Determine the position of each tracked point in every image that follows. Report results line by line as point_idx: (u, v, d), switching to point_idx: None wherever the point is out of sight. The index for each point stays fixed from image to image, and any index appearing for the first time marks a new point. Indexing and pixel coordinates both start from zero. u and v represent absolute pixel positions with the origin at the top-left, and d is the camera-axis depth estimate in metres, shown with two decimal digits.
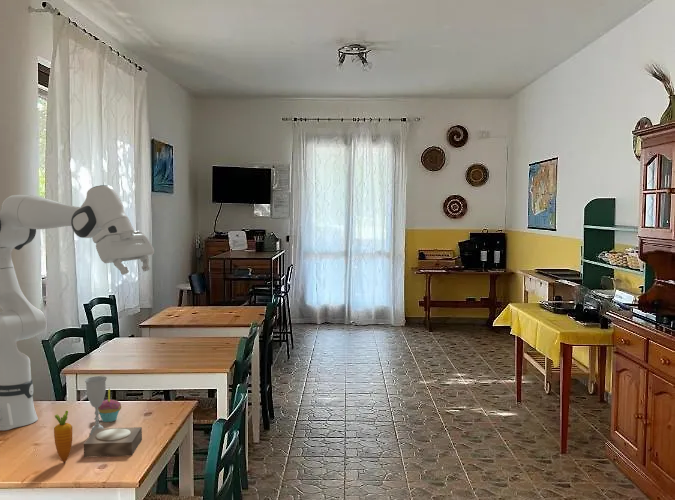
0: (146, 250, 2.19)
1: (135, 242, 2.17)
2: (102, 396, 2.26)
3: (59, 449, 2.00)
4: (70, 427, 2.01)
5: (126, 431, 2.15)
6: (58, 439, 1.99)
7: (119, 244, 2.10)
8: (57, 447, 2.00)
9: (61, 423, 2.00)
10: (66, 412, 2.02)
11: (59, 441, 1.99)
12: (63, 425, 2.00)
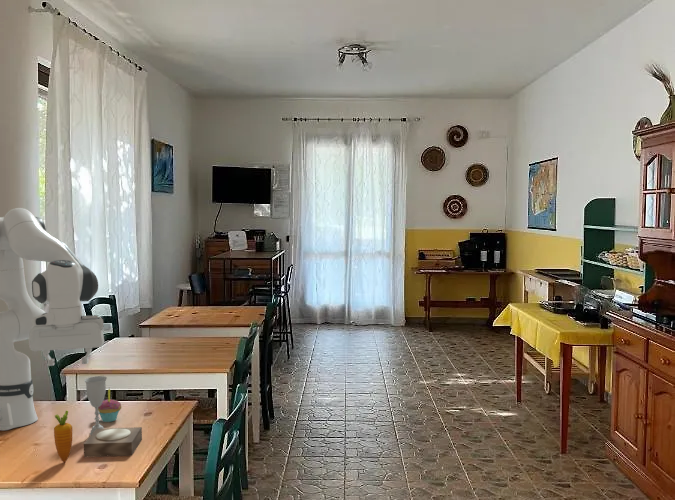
0: (88, 343, 1.99)
1: (77, 332, 1.99)
2: (102, 396, 2.26)
3: (59, 449, 2.00)
4: (70, 427, 2.01)
5: (126, 431, 2.15)
6: (58, 439, 1.99)
7: (51, 334, 1.98)
8: (57, 447, 2.00)
9: (61, 423, 2.00)
10: (66, 412, 2.02)
11: (59, 441, 1.99)
12: (63, 425, 2.00)
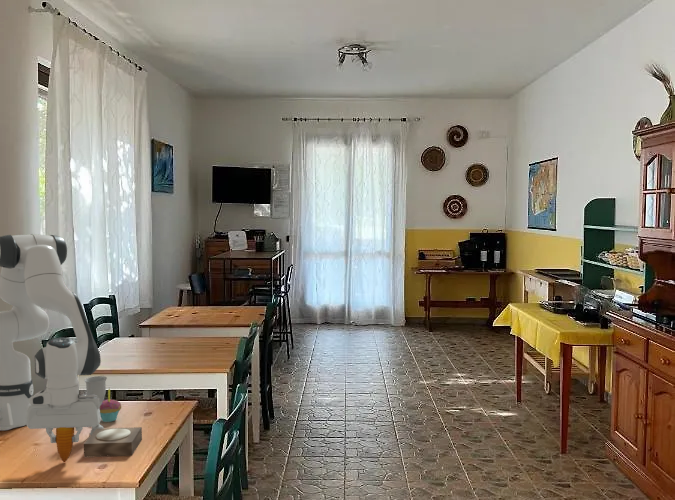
0: (84, 422, 1.99)
1: (73, 411, 1.99)
2: (102, 396, 2.26)
3: (60, 449, 2.00)
4: None
5: (126, 431, 2.15)
6: (59, 439, 1.99)
7: (48, 413, 1.99)
8: (58, 447, 2.00)
9: None
10: None
11: (61, 441, 1.99)
12: None
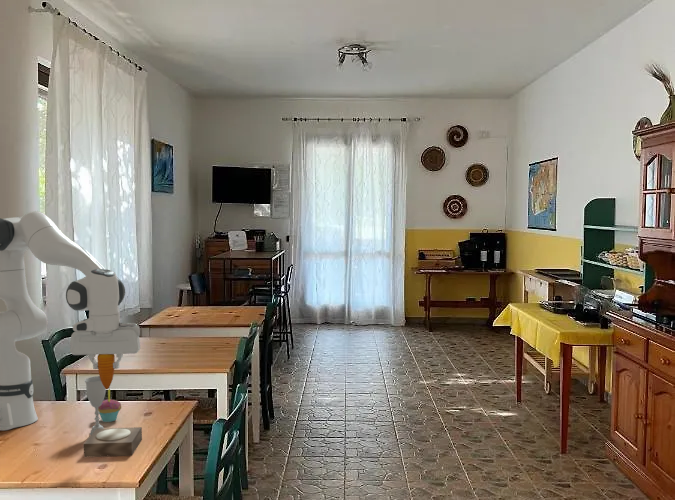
0: (125, 349, 2.08)
1: (115, 339, 2.08)
2: (102, 396, 2.26)
3: (103, 376, 2.09)
4: (113, 355, 2.10)
5: (126, 431, 2.15)
6: (101, 366, 2.08)
7: (91, 340, 2.08)
8: (100, 374, 2.09)
9: None
10: None
11: (103, 368, 2.08)
12: None
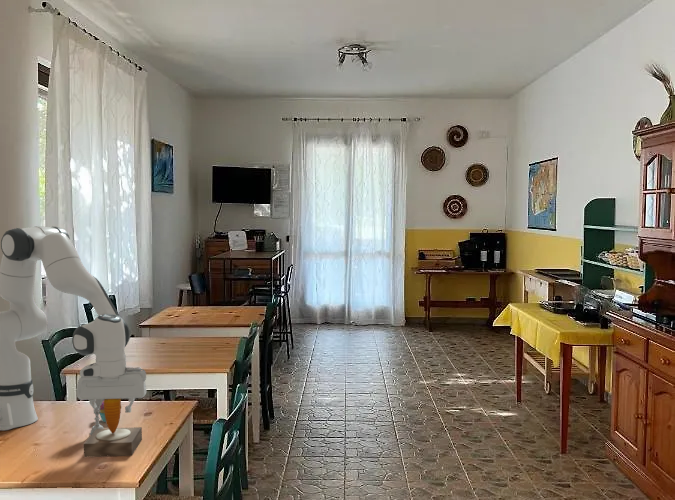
0: (131, 394, 2.11)
1: (121, 383, 2.11)
2: None
3: (109, 420, 2.11)
4: (119, 400, 2.12)
5: (126, 431, 2.15)
6: (108, 411, 2.10)
7: (97, 385, 2.10)
8: (107, 419, 2.11)
9: None
10: None
11: (109, 413, 2.10)
12: None
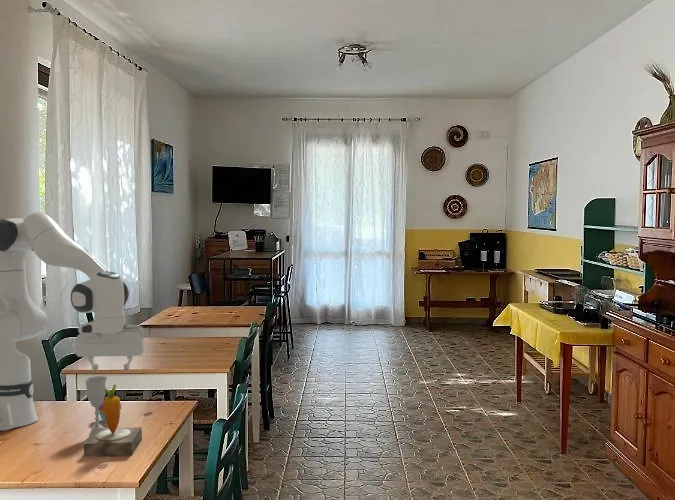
0: (130, 351, 2.10)
1: (120, 341, 2.10)
2: (102, 396, 2.26)
3: (109, 420, 2.11)
4: (118, 400, 2.12)
5: (126, 431, 2.15)
6: (107, 411, 2.10)
7: (96, 342, 2.09)
8: (107, 419, 2.11)
9: (110, 396, 2.12)
10: (114, 386, 2.13)
11: (109, 413, 2.10)
12: (112, 398, 2.11)
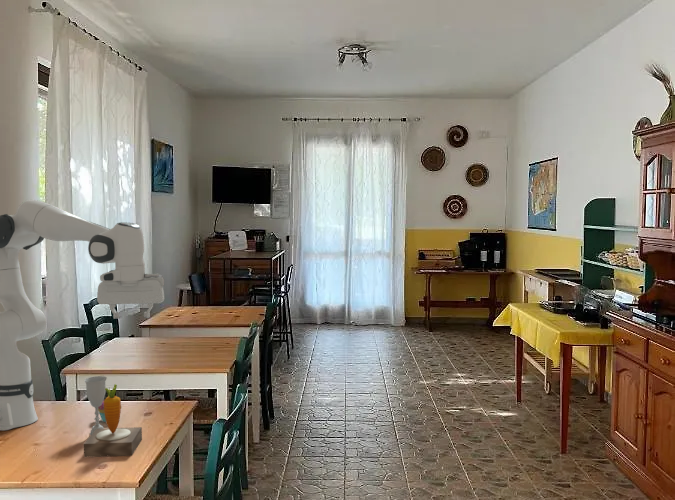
0: (150, 299, 2.17)
1: (140, 289, 2.17)
2: (102, 396, 2.26)
3: (109, 420, 2.11)
4: (119, 400, 2.12)
5: (126, 431, 2.15)
6: (108, 411, 2.10)
7: (117, 290, 2.16)
8: (107, 419, 2.11)
9: (111, 396, 2.12)
10: (115, 386, 2.13)
11: (109, 412, 2.11)
12: (113, 398, 2.11)
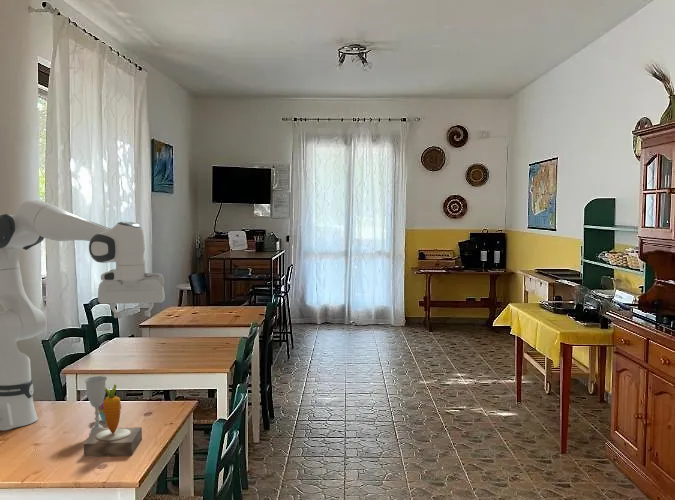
0: (151, 298, 2.17)
1: (141, 288, 2.17)
2: (102, 396, 2.26)
3: (109, 420, 2.11)
4: (119, 400, 2.12)
5: (126, 431, 2.15)
6: (108, 411, 2.10)
7: (118, 289, 2.17)
8: (107, 419, 2.11)
9: (110, 396, 2.12)
10: (115, 386, 2.13)
11: (109, 413, 2.10)
12: (112, 398, 2.11)
